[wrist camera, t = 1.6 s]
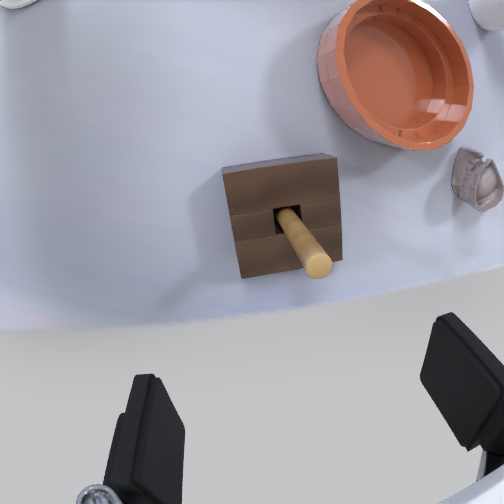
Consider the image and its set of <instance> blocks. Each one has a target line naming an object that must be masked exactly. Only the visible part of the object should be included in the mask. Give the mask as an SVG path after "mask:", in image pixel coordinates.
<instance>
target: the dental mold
mask: <svg viewBox="0 0 504 504" xmlns="http://www.w3.org/2000/svg"><path fill="white" fill-rule="evenodd" d="M482 157H484V155H483V154H482V153H481V152H479V151H476V150H473V149H469V148H465V147H461V148H460V150H459V153H458V155H457V157H456V160H455V163H454V167H453V177H452V182H451V185H452V188H453V191H454V192H455V193H456V194H457V195H458V196H459V198H460V199H461V198H462V199H463V200H464V201H465V202H467V203H468V204H470V205H471V206H473V207H474V208H475V209H477V210H479V211H481V212H485V211H487V210H489V209H490V208H493V207H495V206H496V205H497V204H498V203H499V202H500V201H501V200H502V197H503V193H504V186H503V183H502V180H501V177H500V174H499V172H498V169H497V167H496V165H495V163H494V161H493V160H492V159H487V160H486V161H485V162H483V161H482Z"/></svg>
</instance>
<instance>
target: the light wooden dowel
mask: <svg viewBox="0 0 504 504" xmlns="http://www.w3.org/2000/svg"><path fill="white" fill-rule="evenodd" d="M273 213H274V215H275V217H276V219H277V220H278V222H279V224H280V226H281V227H282V229H283V231H284V233H285V234H286V236H287V238H288V240H289V241H290V243H291V245H292V247H293V248H294V250H295V252H296V254H297V256H298V257H299V259H300V261H301V263H302V264H303V266H304V268H305V270H306V272H307V273H308V275H309V276H310V277H312V278H315V279H320V278H323V277H325V276H327V275H328V274H329V273H330V271H331V269H332V260H331V258H330V257H329V256H328V254H327V253H326V252H325V251H324V249H323V248H322V247H321V245H320V244H319V243H318V242H317V240H316V239H315V238H314V236H313V235H312V234H311V233H310V231H309V230H308V229H307V227H306V226H305V225H304V224H303V222H302V221H301V220H300V219H299V217H298V216H297V215H296V214H295V212H294V211H293V210H292V209H291V207H290V206H287V207H281V208H274V209H273Z"/></svg>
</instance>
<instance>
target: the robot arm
mask: <svg viewBox="0 0 504 504" xmlns="http://www.w3.org/2000/svg"><path fill="white" fill-rule="evenodd" d="M35 1H37V0H0V5H2V6H3V7H6V8H9V9H17V8H22V7H24V6H27V5H29V4H31V3H33V2H35ZM420 379H421V382H422V384H423V386H424V387H425V389H426V390H427V392H428V393H429V395H430V396H431V398H432V400H433V401H434V403H435V404H436V406H437V407H438V409H439V411H440V412H441V414H442V415H443V417H444V419H445V420H446V422H447V423H448V425H449V427H450V428H451V430H452V432H453V433H454V435H455V437H456V438H457V440H458V442H459V443H460V445H461V446H463V447H466V449H467V451H470V450H472V449H473V448H475V447H477V446H479V444H480V445H481V447H482V448H483V450H482V456H481V461H480V466H479V470H478V475H477V479H476V482H475V483H474V484H472V485H470V486H469V487H467V488H465V489H464V490H462V491H460V492H459V493H457V494H455V495H453V496H451V497H449V498H447V499H445V500H444V501H442V502H439V503H438V504H504V365H503V364H502V363H501V362H500V361H499V360H498V359H497V358H496V356H495V355H494V354H493V353H492V352H491V351H490V350H489V349H488V348H487V347H486V346H485V345H484V344H483V343H482V342H481V340H480V339H479V338H478V337H477V336H476V335H475V334H474V333H473V332H472V331H471V330H470V329H469V328H468V327H467V326H466V325H465V324H464V323H463V322H462V321H461V320H460V319H459V318H458V317H457V316H456V315H455V314H454V313H451V312H450V313H447V314H444V315H442V316H439V317H437V319H436V322H434V323H433V327H432V331H431V335H430V339H429V343H428V347H427V351H426V355H425V359H424V363H423V366H422V369H421V373H420ZM184 443H185V429H184V425H183V422H182V421H181V419H180V417H179V415H178V413H177V411H176V409H175V407H174V405H173V403H172V402H171V399H170V397H169V395H168V393H167V391H166V389H165V387H164V385H163V383H162V381H161V379H160V378H156V377H155V375H154V374H141V375H136V376H135V377H134V380H133V385H132V388H131V392H130V395H129V399H128V404H127V407H126V411H125V413H121V414H120V415H119V418H118V420H117V424H116V428H115V432H114V436H113V441H112V445H111V449H110V454H109V458H108V462H107V467H106V471H105V476H104V481H103V485H100V484H97V485H91V486H88V487H86V488H85V489H83V490H82V491H81V492H80V494H79V495H78V497H77V500H76V504H182V481H183V480H182V479H183V459H184Z"/></svg>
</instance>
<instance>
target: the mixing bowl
mask: <svg viewBox="0 0 504 504" xmlns="http://www.w3.org/2000/svg"><path fill="white" fill-rule="evenodd" d="M317 65H318V71H319V77H320V83H321V86H322V88H323V90H324V92H325V94H326V96H327V98H328V101H329V103H330V105H331V106H332V108H333V109H334V110H335V112H336V113H337V114H338V115H339V116H340V117H341V119H342V120H343V121H344V122H345V123H346V125H348V126H349V127H350V128H352V129H353V130H355V131H356V132H357V133H359V134H360V135H362V136H363V137H365V138H366V139H369V140H372V141H376V142H379V143H382V144H385V145H390V146H394V147H399V148H404V149H408V150H412V151H417V150H434V149H436V148H438V147H441V146H443V145H445V144H447V143H449V142H450V141H452V139H453V138H454V137H455V136H456V135H457V134H458V133H459V132H460V131H461V130H462V128H463V127H464V125H465V123H466V121H467V118H468V116H469V113H470V111H471V107H472V99H473V90H474V85H473V77H472V70H471V64H470V62H469V59H468V56H467V54H466V51H465V49H464V46H463V44H462V42H461V40H460V39H459V37H458V36H457V34H456V33H455V31H454V30H453V28H452V27H451V26H450V24H449V23H448V22H447V21H446V20H445V19H444V18H443V17H442V16H441V15H440V14H439V13H438V12H437V11H436V10H434V9H433V8H432V7H431V6H429V5H427V4H426V3H424V2H422V1H420V0H357V1H356V2H354V3H353V4H351V5H350V6H349V7H347V8H346V9H345V10H343V11H342V12H341V13H340V14H338V15H337V16H336V17H335V18H333V19H332V20H331V21H330V23H329V24H328V26H327V28H326V29H325V31H324V33H323V34H322V36H321V38H320V43H319V49H318V55H317Z"/></svg>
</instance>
